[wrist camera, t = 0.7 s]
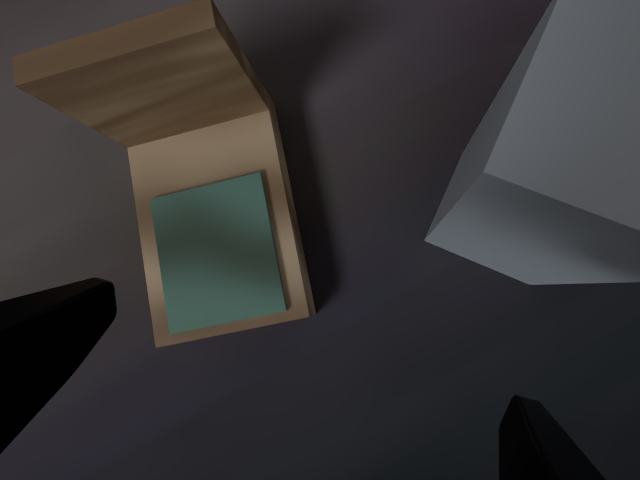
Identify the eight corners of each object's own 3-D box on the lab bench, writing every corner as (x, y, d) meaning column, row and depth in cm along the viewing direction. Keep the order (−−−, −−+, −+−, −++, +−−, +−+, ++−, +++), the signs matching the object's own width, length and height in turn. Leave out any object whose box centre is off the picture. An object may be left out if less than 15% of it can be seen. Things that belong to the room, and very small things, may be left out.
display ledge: (316, 314, 22) (271, 331, 13) (175, 342, 23) (44, 376, 14) (274, 103, 24) (209, -6, 15) (144, 138, 25) (11, 54, 16)
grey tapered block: (529, 284, 21) (767, 278, 8) (424, 240, 22) (483, 171, 9) (568, 192, 21) (861, 41, 8) (462, 153, 22) (573, -37, 9)
